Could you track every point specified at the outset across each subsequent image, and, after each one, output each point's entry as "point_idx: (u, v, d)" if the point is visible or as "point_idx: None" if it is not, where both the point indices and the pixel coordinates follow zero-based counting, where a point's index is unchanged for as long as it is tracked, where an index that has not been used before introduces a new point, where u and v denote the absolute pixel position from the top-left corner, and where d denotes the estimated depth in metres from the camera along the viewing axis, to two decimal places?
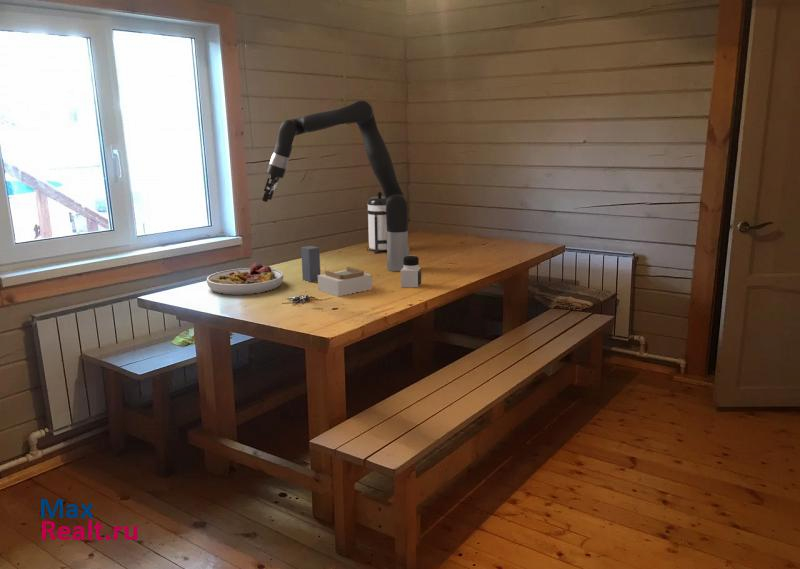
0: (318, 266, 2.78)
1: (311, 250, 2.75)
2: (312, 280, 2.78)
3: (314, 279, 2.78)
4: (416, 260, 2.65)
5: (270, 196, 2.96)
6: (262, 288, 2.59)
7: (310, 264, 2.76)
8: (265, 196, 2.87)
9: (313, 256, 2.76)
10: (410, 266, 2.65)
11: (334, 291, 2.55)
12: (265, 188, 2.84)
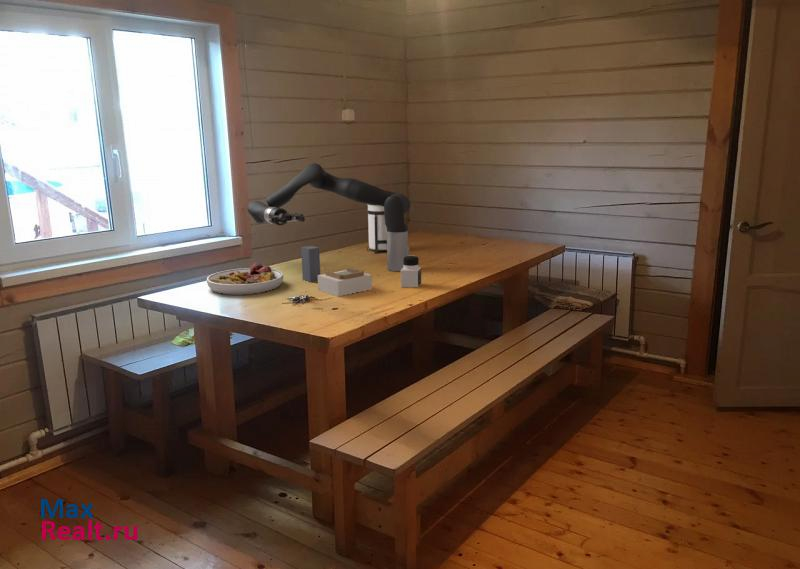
0: (318, 266, 2.78)
1: (311, 250, 2.75)
2: (312, 280, 2.78)
3: (314, 279, 2.78)
4: (416, 260, 2.65)
5: (301, 217, 2.87)
6: (262, 288, 2.59)
7: (310, 264, 2.76)
8: (281, 221, 2.82)
9: (313, 256, 2.76)
10: (410, 266, 2.65)
11: (334, 291, 2.55)
12: (273, 222, 2.84)
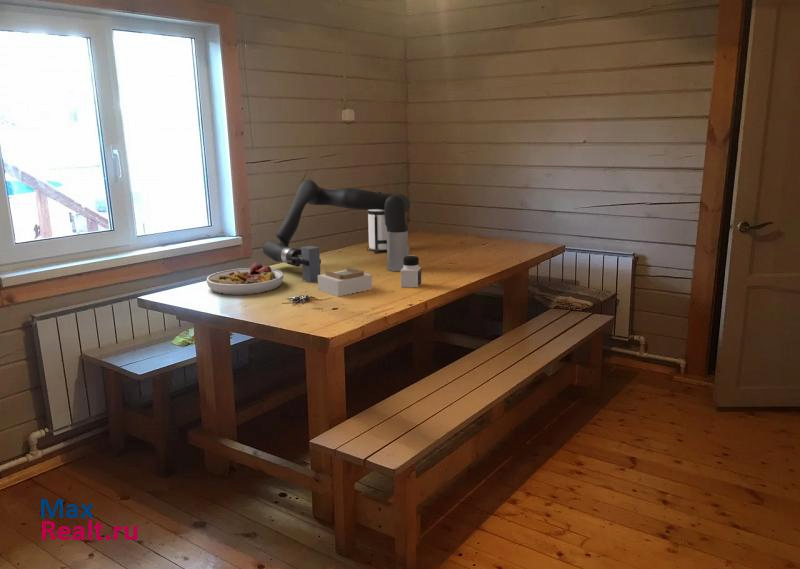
0: (318, 266, 2.78)
1: (311, 250, 2.75)
2: (312, 280, 2.78)
3: (314, 279, 2.78)
4: (416, 260, 2.65)
5: None
6: (262, 288, 2.59)
7: (310, 264, 2.76)
8: (303, 263, 2.76)
9: (313, 256, 2.76)
10: (410, 266, 2.65)
11: (334, 291, 2.55)
12: (295, 264, 2.78)
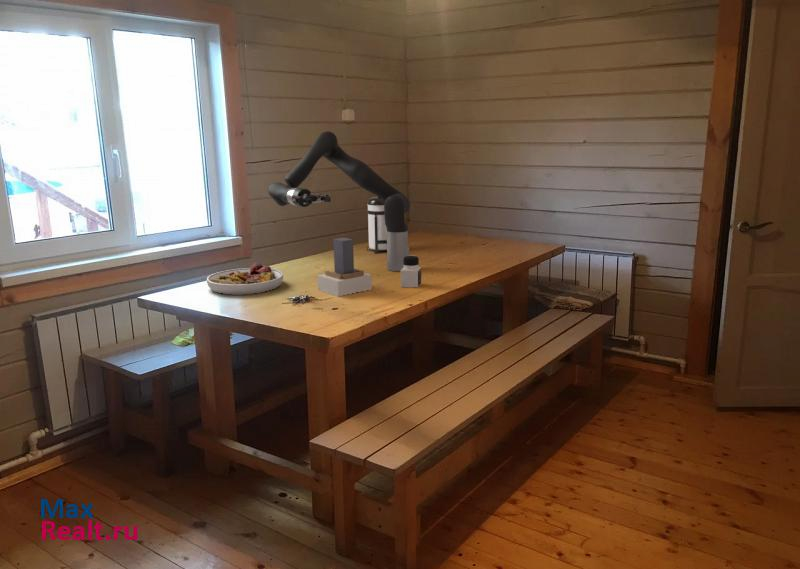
0: (352, 259, 2.60)
1: (345, 242, 2.56)
2: None
3: (347, 273, 2.60)
4: (416, 260, 2.65)
5: (326, 198, 2.71)
6: (262, 288, 2.59)
7: (343, 257, 2.57)
8: (306, 201, 2.66)
9: (346, 248, 2.57)
10: (410, 266, 2.65)
11: (334, 291, 2.55)
12: (297, 202, 2.68)
